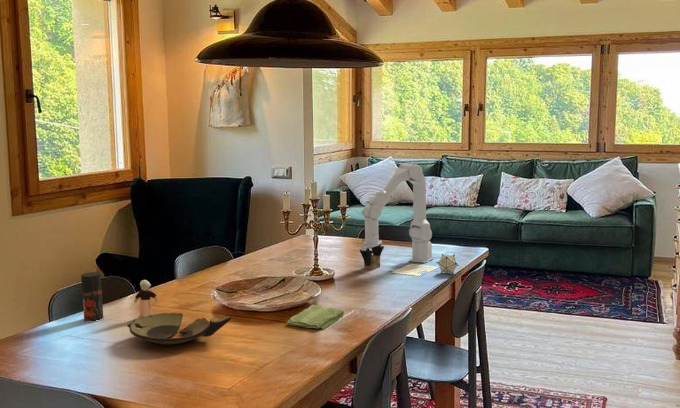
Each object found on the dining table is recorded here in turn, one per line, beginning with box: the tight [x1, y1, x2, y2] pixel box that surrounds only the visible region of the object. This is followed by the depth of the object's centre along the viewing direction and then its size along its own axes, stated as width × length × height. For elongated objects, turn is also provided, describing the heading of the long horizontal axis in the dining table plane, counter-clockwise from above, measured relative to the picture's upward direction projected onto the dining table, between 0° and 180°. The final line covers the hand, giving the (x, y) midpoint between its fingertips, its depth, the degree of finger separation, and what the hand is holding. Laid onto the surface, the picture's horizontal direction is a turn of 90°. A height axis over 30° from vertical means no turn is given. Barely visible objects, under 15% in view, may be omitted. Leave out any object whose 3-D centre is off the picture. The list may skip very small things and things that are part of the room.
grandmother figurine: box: [133, 279, 159, 319], centre depth 217 cm, size 8×4×13 cm, turn 105°
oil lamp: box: [126, 312, 233, 345], centre depth 194 cm, size 22×30×8 cm
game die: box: [436, 253, 460, 275], centre depth 271 cm, size 9×8×10 cm
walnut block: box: [363, 254, 381, 270], centre depth 284 cm, size 5×5×5 cm
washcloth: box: [286, 304, 345, 331], centre depth 212 cm, size 13×18×3 cm
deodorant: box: [80, 271, 104, 322], centre depth 216 cm, size 6×6×15 cm
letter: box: [391, 263, 440, 277], centre depth 278 cm, size 18×13×1 cm
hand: (372, 264), depth 284 cm, fingers open, 7 cm apart
